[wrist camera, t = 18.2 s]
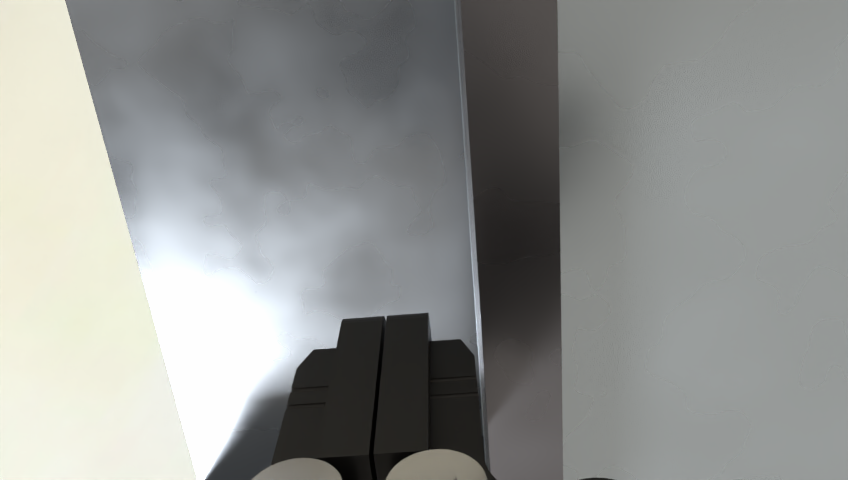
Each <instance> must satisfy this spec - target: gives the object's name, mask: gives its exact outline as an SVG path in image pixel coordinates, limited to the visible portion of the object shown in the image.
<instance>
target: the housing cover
mask: <svg viewBox="0 0 848 480" xmlns="http://www.w3.org/2000/svg"><path fill="white" fill-rule="evenodd" d="M454 6H455V21H456V36H457V51H458V66H459V81H460V95H461V110H462V125H463V140H464V155H465V169H466V184H467V199H468V214H469V229H470V243H471V258H472V273H473V288H474V303H475V317H476V332H477V347H478V362H479V377H480V392H481V406H482V421H483V436H484V451H485V463H486V465H487V468H488V470H489V471H490V473H491V474H492V475H493V476H494V477H495V478H496V479H497V480H580V479H585V478H608V479H614V480H848V0H454Z"/></svg>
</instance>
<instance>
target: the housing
mask: <svg viewBox="0 0 848 480" xmlns="http://www.w3.org/2000/svg"><path fill="white" fill-rule="evenodd" d="M65 1H66V5H67V8H68V12H69V16H70V19H71V23H72V27H73V30H74V34H75V37H76V41H77V45H78V48H79V52H80V56H81V59H82V63H83V66H84V70H85V74H86V77H87V81H88V85H89V88H90V92H91V95H92V99H93V103H94V106H95V110H96V114H97V117H98V121H99V124H100V128H101V132H102V135H103V139H104V143H105V146H106V150H107V153H108V157H109V161H110V164H111V168H112V172H113V175H114V179H115V182H116V186H117V190H118V193H119V197H120V201H121V204H122V208H123V211H124V215H125V219H126V222H127V226H128V230H129V233H130V237H131V240H132V244H133V248H134V251H135V255H136V259H137V262H138V266H139V269H140V273H141V277H142V280H143V284H144V288H145V291H146V295H147V298H148V302H149V306H150V309H151V313H152V317H153V320H154V324H155V327H156V331H157V335H158V338H159V342H160V346H161V349H162V353H163V356H164V360H165V364H166V367H167V371H168V375H169V378H170V382H171V385H172V389H173V393H174V396H175V400H176V404H177V407H178V411H179V414H180V418H181V422H182V425H183V429H184V433H185V436H186V440H187V443H188V447H189V451H190V454H191V458H192V462H193V465H194V469H195V472H196V476H197V480H252V479H253V478H254V477H255V476H256V475H257V474H258V473H260V472H261V471H262V470H264V469H266V468H268V467H269V466H271V462H272V458H273V455H274V451H275V447H276V444H277V440H278V436H279V432H280V429H281V425H282V421H283V417H284V414H285V410H286V409H287V402H288V399H289V395H290V392H291V387H292V384H293V380H294V376H295V372H296V369H297V367H298V366H299V365H300V364H301V363H302V362H303V361H304V359H305V358H306V357H307V356H308V355H309V354H310V353H311V352H312V351H313V350H315V349H329V348H336V347H337V341H338V336H339V331H340V326H341V322H342V319H349V318H362V317H376V316H384V317H385V319H386V318H387V316H388V315H402V314H416V313H429V319H430V328H431V338H432V341H439V340H454V339H461V340H462V341H463V342H464V344H465V345H466V346H467V347H468V348H469V350H470V351H471V352H472V353H473V354H474V356H475V366H476V377H477V387H478V398H479V408H480V419H481V429H482V440H483V450H484V436H483V421H482V406H481V392H480V377H479V362H478V347H477V332H476V317H475V303H474V288H473V273H472V258H471V243H470V229H469V214H468V199H467V184H466V169H465V155H464V140H463V125H462V110H461V95H460V81H459V66H458V51H457V36H456V21H455V6H454V0H65ZM484 458H485V451H484Z"/></svg>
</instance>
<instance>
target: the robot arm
mask: <svg viewBox="0 0 848 480" xmlns="http://www.w3.org/2000/svg"><path fill="white" fill-rule="evenodd" d="M252 480H497V479H496V478H495V477H494V476H493V475H492V474H491V473H490V471H489V470H488V468H487V465H486V463H485V458H484V450H483V440H482V429H481V419H480V408H479V398H478V387H477V377H476V366H475V356H474V354H473V353H472V352H471V351H470V350H469V348H468V347H467V346H466V345H465V344H464V342H463V341H462V340H461V339H454V340H439V341H432V338H431V328H430V319H429V313H416V314H402V315H388V316H387V318H386V319H385V317H384V316H376V317H362V318H349V319H342V322H341V326H340V331H339V336H338V341H337V347H336V348H329V349H315V350H313V351H312V352H311V353H310V354H309V355H308V356H307V357H306V358H305V359H304V361H303V362H302V363H301V364H300V365H299V366H298V367H297V369H296V372H295V376H294V380H293V384H292V387H291V392H290V395H289V399H288V402H287V409H286V410H285V414H284V417H283V421H282V425H281V429H280V432H279V436H278V440H277V444H276V447H275V451H274V455H273V458H272V462H271V466H269V467H268V468H266V469H264V470H262V471H261V472H260V473H258V474H257V475H256V476H255V477H254V478H253V479H252ZM580 480H614V479H608V478H585V479H580Z"/></svg>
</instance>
